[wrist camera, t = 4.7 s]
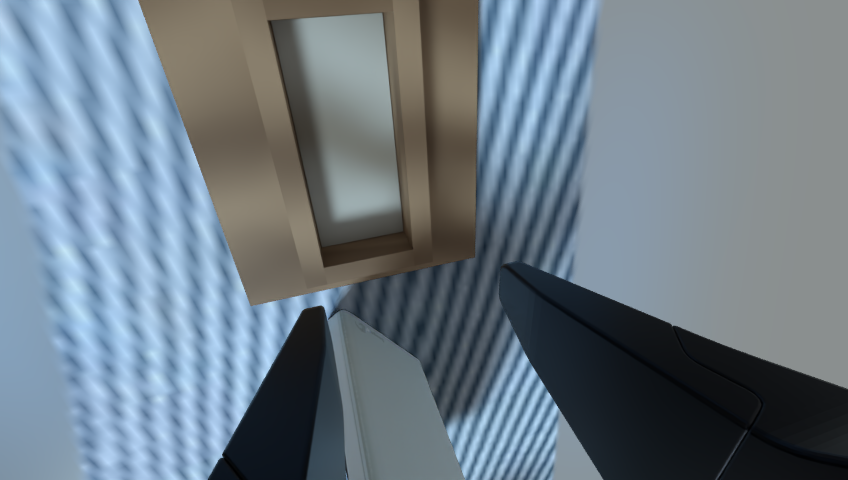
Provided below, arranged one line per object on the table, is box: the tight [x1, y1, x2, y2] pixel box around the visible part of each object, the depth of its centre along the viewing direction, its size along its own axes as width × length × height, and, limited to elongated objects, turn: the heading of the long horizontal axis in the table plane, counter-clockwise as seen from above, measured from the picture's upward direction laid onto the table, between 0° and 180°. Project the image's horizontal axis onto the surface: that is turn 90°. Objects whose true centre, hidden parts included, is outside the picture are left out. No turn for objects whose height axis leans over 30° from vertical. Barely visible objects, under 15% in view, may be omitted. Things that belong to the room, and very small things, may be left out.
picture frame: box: [138, 0, 478, 306], centre depth 18 cm, size 16×13×3 cm
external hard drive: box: [328, 310, 465, 480], centre depth 22 cm, size 2×8×12 cm, turn 39°
